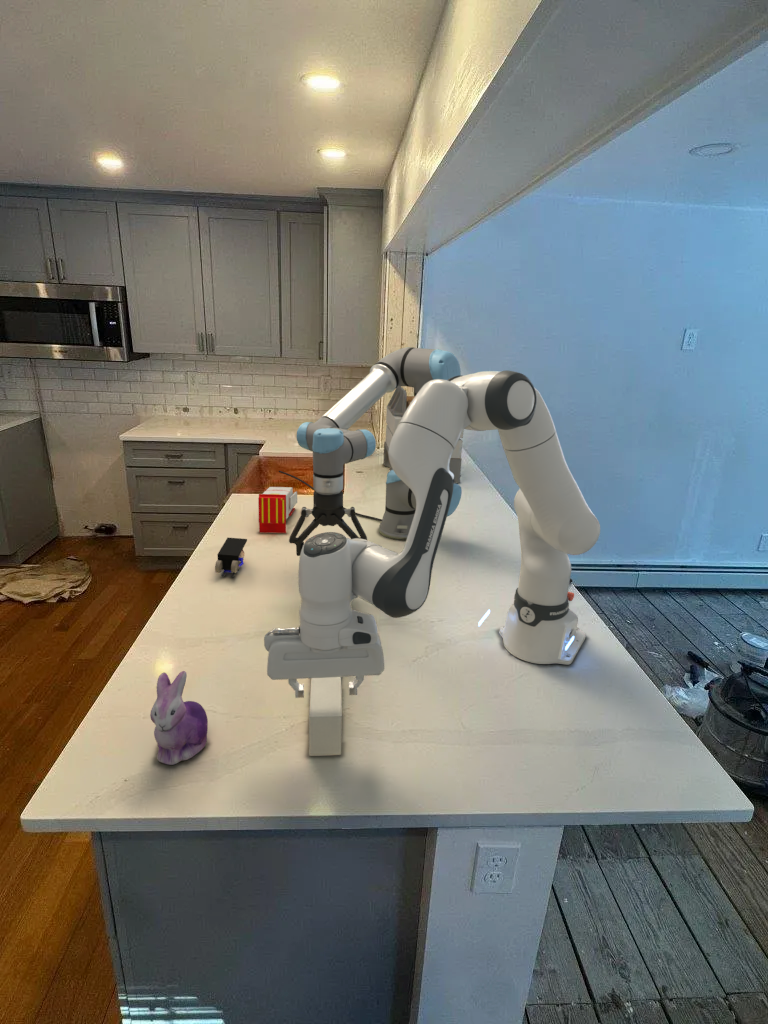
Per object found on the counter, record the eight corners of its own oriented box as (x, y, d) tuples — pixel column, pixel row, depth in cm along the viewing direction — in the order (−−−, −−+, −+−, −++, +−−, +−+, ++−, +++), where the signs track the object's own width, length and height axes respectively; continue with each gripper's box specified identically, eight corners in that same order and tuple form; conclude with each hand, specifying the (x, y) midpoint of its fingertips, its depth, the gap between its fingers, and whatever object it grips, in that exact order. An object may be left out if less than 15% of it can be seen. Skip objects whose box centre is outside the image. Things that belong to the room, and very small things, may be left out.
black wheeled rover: (238, 584, 162) (249, 557, 175) (236, 562, 158) (247, 536, 172) (215, 584, 161) (227, 556, 175) (212, 561, 158) (225, 535, 171)
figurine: (158, 776, 94) (149, 701, 89) (151, 736, 102) (142, 665, 97) (216, 758, 98) (211, 685, 93) (204, 721, 107) (199, 653, 102)
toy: (299, 482, 220) (288, 496, 190) (299, 516, 222) (288, 534, 193) (267, 481, 219) (252, 495, 190) (268, 515, 222) (253, 533, 193)
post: (317, 589, 158) (318, 562, 155) (338, 589, 159) (338, 562, 156) (309, 756, 100) (309, 716, 97) (340, 755, 100) (341, 716, 97)
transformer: (382, 463, 289) (386, 382, 275) (445, 464, 293) (451, 384, 279) (390, 482, 257) (394, 392, 243) (460, 483, 261) (468, 394, 247)
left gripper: (276, 495, 139) (279, 572, 146) (378, 495, 141) (376, 572, 148) (279, 485, 146) (282, 560, 153) (376, 486, 148) (374, 559, 155)
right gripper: (261, 639, 92) (265, 709, 97) (386, 634, 94) (384, 703, 99) (265, 619, 98) (268, 685, 103) (382, 615, 100) (380, 680, 105)
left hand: (328, 566), depth 151 cm, fingers open, 13 cm apart
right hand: (326, 694), depth 101 cm, fingers open, 8 cm apart
